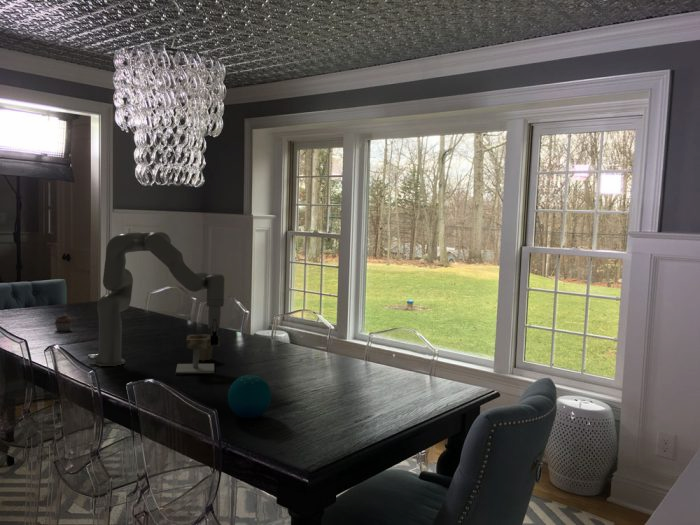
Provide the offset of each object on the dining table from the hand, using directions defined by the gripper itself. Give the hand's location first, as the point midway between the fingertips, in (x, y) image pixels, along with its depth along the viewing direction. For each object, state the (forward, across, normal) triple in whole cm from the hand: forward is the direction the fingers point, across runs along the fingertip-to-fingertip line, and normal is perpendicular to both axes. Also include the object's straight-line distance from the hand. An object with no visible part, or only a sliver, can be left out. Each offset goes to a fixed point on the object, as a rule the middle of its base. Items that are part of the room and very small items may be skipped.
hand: (214, 343), depth 267 cm
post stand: (+12, 0, -8) cm, 15 cm away
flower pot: (+13, -20, -4) cm, 24 cm away
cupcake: (+12, -86, -80) cm, 118 cm away
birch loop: (+1, 0, -5) cm, 5 cm away
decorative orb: (+13, +61, +12) cm, 64 cm away
